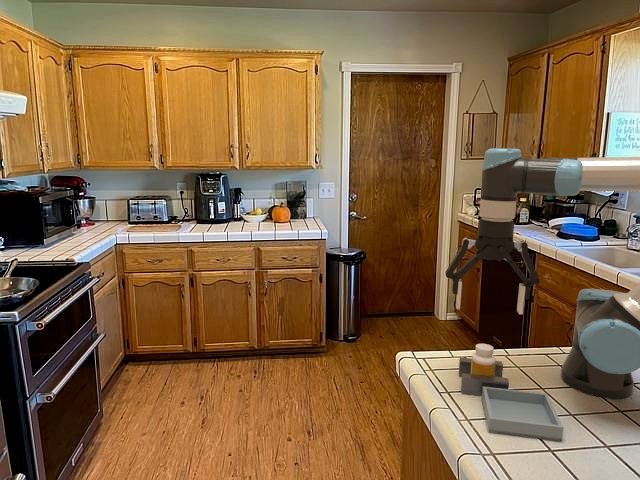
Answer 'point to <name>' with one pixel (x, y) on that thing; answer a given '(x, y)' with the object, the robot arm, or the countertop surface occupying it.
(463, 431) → the countertop surface
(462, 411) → the countertop surface
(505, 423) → the grey tray
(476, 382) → the steel jaws
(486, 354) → the supplement bottle
